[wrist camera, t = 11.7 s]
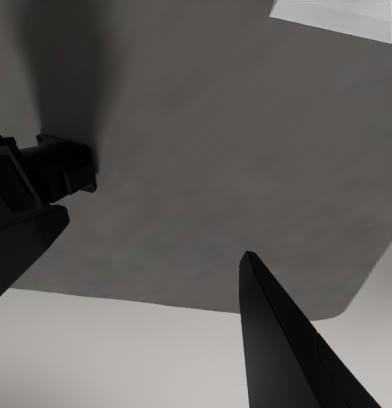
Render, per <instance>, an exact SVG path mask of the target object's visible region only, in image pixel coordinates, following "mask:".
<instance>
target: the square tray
mask: <svg viewBox="0 0 392 408" xmlns="http://www.w3.org/2000/svg"><path fill="white" fill-rule="evenodd" d="M269 17H274V18H278V19H283V20H287V21H292V22H296V23H301V24H305V25H309V26H314V27H318V28H323V29H327V30H332V31H336V32H341V33H345V34H350V35H354V36H359V37H363V38H368V39H372V40H377V41H381V42H385V43H390V44H392V0H274V2H273V5H272V9H271V12H270V16H269Z"/></svg>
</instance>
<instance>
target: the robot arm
mask: <svg viewBox="0 0 392 408" xmlns="http://www.w3.org/2000/svg"><path fill="white" fill-rule="evenodd" d="M36 139H37V142H38V146H35V147H30V148H24V149H18V147H17V145H16V141H15V139H14V137H2V136H1V135H0V296H1V295H2V294H3V293H4V292H5V291H6V290H7V289H8V288H9V287H10V286H11V285H12V284H13V283H14V282H15V281H16V280H17V279H18V278H19V277H20V276H21V275H22V274H23V273H24V272H25V271H26V270H27V269H28V268H29V267H30V266H31V265H32V264H33V263H34V262H35V261H36V260H37V259H38V258H39V257H40V256H41V255H42V254H43V253H44V252H45V251H46V250H47V249H48V248H49V247H50V246H51V244H52V243H53V242H54V241H55V240H56V239H57V237H58V236H59V235H60V234H61V233H62V231H63V230H64V229H65V228H66V227H67V225H68V224H69V222H70V219H69V215H68V211H67V208H66V207H65V206H61V205H50V203H54V202H56V201H58V200H60V199H62V198H64V197H66V196H67V195H72V194H74V193H75V192H77V191H79V190H82V191H86V192H90V193H93V192H95V191H96V187H95V180H94V173H93V166H92V159H91V152H90V148H89V146H87V145H85V144H81V143H77V142H73V141H68V140H64V139H60V138H56V137H51V136H47V135H43V134H39V135H36ZM84 148H85V149H86V150H85V149H84ZM49 202H50V203H49ZM239 303H240V314H241V324H242V334H243V345H244V355H245V366H246V377H247V387H248V397H249V408H381V406H380V405H379V404H378V403H377V402H376V401H375V400H374V398H373V397H372V396H371V395H370V394H369V393H368V392H367V391H366V389H365V388H364V387H363V386H362V385H361V383H360V382H359V381H358V380H357V379H356V378H355V377H354V375H353V374H352V373H351V372H350V371H349V369H348V368H347V367H346V366H345V365H344V364H343V362H342V361H341V360H340V359H339V357H338V356H337V355H336V354H335V353H334V351H333V350H332V349H331V348H330V346H329V345H328V344H327V343H326V341H325V340H324V339H323V338H322V336H321V335H320V334H319V333H317V330H316V329H315V328H314V327H313V325H312V324H311V322H310V321H309V320H308V319H307V317H306V316H305V315H304V314H303V312H302V311H301V310H300V309H299V307H298V306H297V305H296V304H295V302H294V301H293V300H292V299H291V297H290V296H289V295H288V293H287V292H286V291H285V290H284V288H283V287H282V286H281V285H280V283H279V282H278V281H277V280H276V278H275V277H274V276H273V275H272V273H271V272H270V271H269V269H268V268H267V267H266V266H265V264H264V263H263V262H262V261H261V259H260V258H259V257H258V256H257V254H256V253H254V252H251V251H246V252H245V253H244V255H243V257H242V259H241V261H240V265H239Z"/></svg>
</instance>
